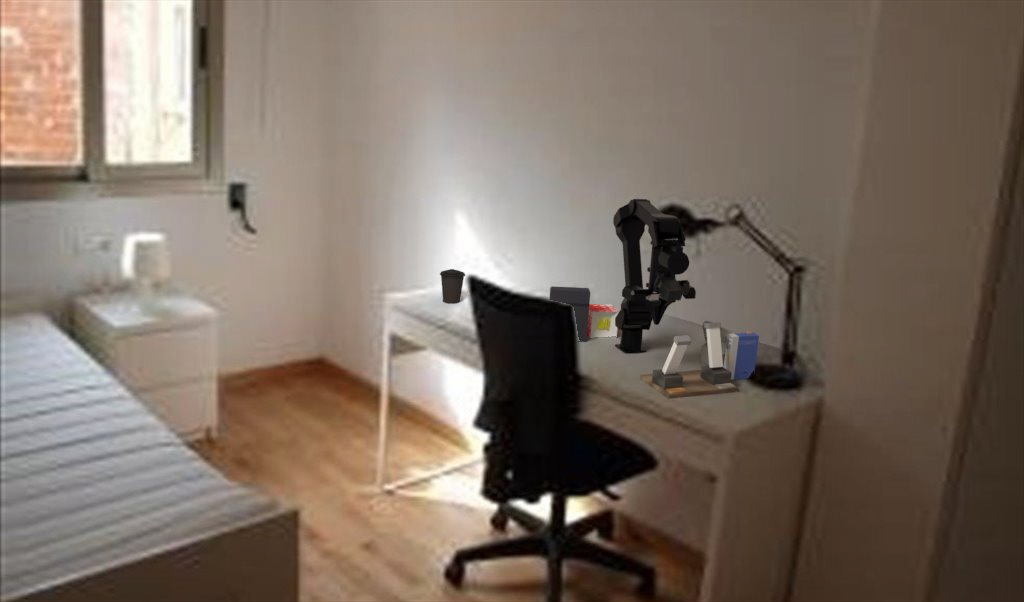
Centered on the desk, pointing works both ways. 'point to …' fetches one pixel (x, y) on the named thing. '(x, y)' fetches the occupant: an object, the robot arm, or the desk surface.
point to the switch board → (691, 382)
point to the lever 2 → (714, 344)
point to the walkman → (741, 354)
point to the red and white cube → (601, 320)
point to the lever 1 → (676, 354)
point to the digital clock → (723, 336)
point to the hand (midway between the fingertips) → (656, 324)
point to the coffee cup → (452, 285)
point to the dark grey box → (575, 305)
